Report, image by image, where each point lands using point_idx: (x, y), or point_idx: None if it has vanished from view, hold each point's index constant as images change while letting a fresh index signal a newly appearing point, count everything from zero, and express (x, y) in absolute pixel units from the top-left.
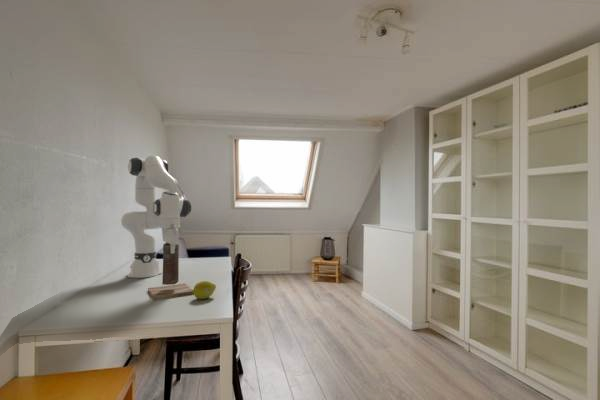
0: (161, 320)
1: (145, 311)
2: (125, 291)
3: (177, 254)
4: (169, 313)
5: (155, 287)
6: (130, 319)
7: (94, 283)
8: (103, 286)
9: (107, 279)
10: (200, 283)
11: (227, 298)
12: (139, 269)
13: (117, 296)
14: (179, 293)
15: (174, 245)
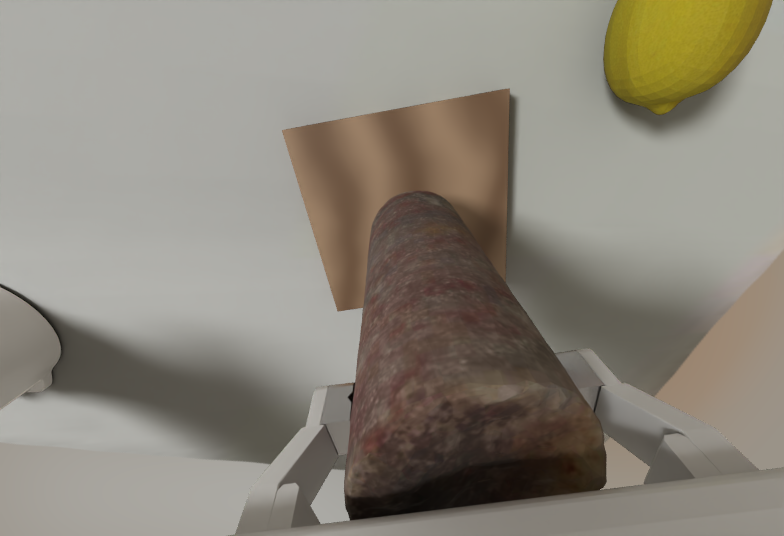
0: (768, 250)
1: (625, 298)
2: (313, 370)
3: (506, 294)
4: (719, 224)
5: (336, 284)
6: (670, 330)
7: (161, 455)
8: (214, 431)
9: (93, 436)
10: (745, 47)
11: None
12: (6, 380)
13: None
14: (507, 177)
15: (727, 456)
